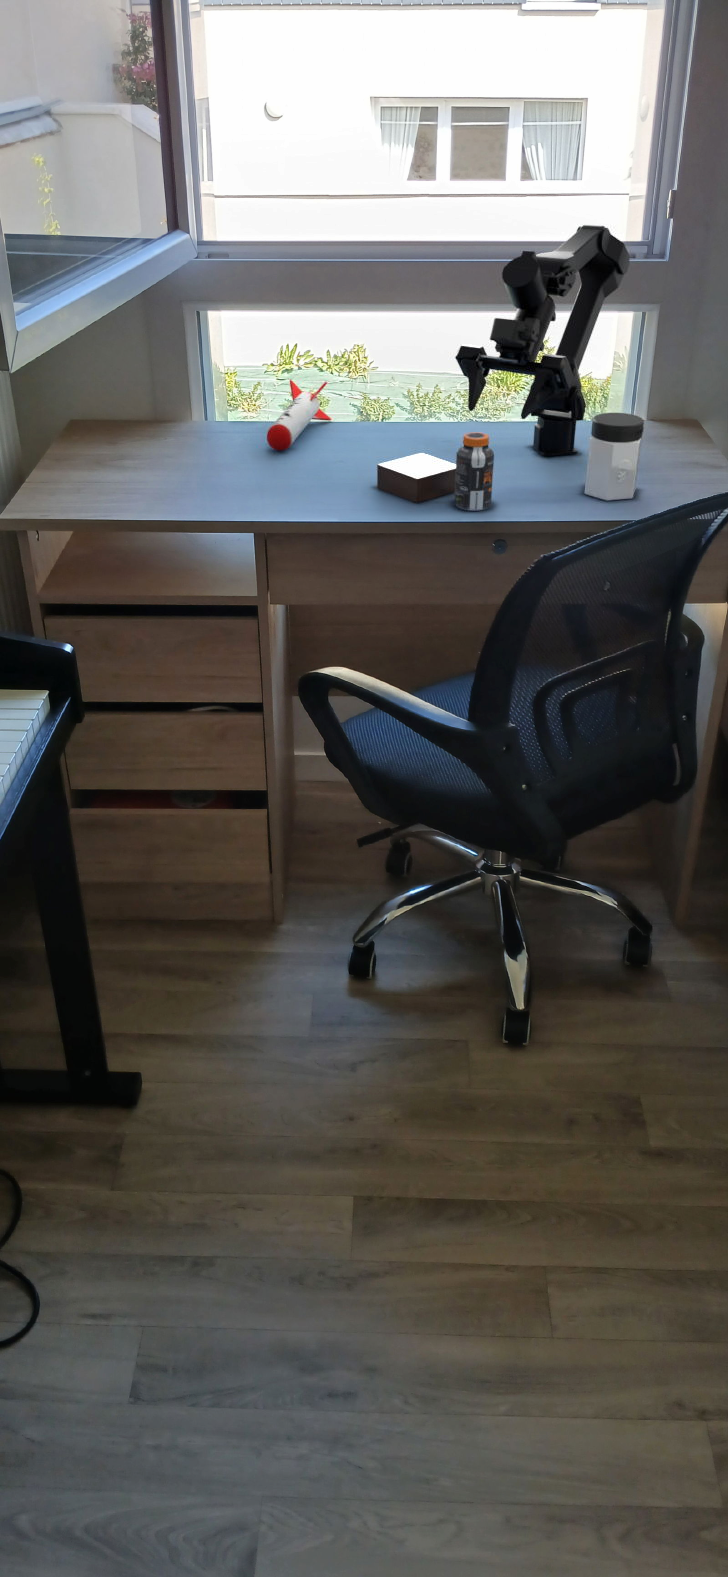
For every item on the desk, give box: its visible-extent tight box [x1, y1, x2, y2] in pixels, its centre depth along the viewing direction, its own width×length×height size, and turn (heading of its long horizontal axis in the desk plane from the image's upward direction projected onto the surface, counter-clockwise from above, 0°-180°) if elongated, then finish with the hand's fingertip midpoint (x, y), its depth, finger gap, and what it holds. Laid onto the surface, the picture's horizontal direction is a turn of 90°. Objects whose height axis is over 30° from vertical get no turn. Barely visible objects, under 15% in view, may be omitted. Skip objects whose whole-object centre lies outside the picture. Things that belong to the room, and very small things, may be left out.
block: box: [376, 452, 456, 504], centre depth 192 cm, size 10×10×4 cm
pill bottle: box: [454, 431, 495, 511], centre depth 183 cm, size 6×6×11 cm
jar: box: [584, 412, 645, 502], centre depth 187 cm, size 9×8×12 cm
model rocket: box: [266, 379, 332, 452], centre depth 217 cm, size 11×23×10 cm
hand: (495, 413), depth 184 cm, fingers open, 9 cm apart
